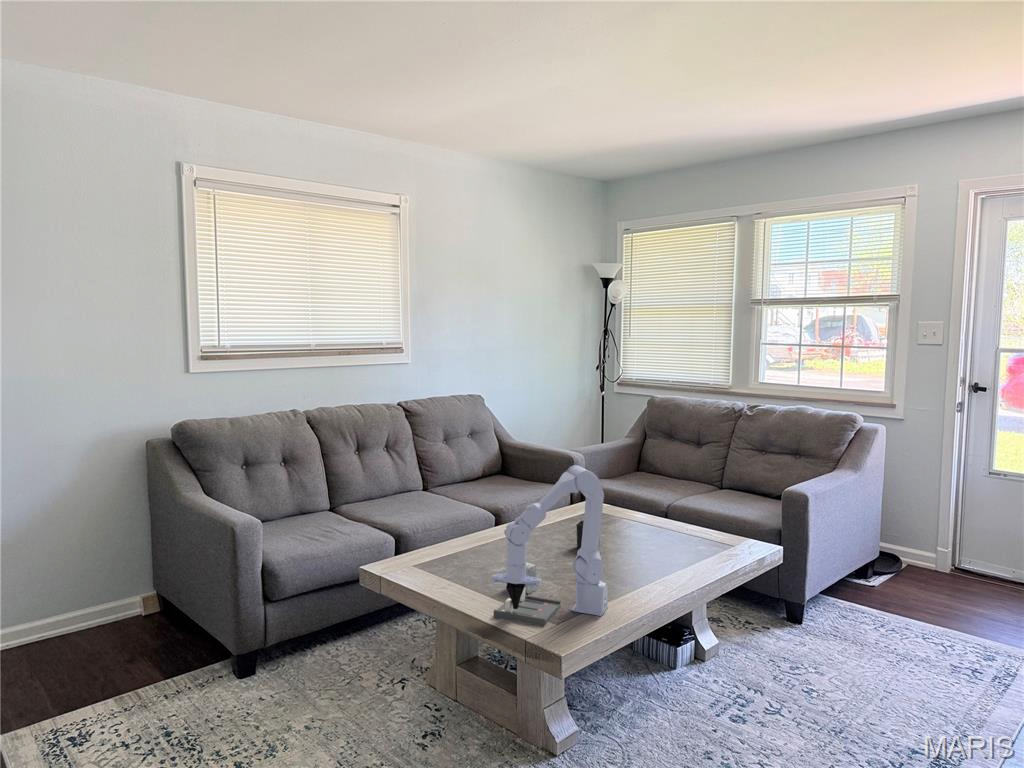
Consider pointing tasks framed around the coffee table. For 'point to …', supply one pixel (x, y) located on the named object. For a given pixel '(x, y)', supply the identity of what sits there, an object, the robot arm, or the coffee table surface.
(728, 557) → the coffee table surface
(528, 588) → the medicine box
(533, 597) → the breaker panel
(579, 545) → the pen holder
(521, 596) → the breaker
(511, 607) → the block
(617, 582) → the coffee table surface
